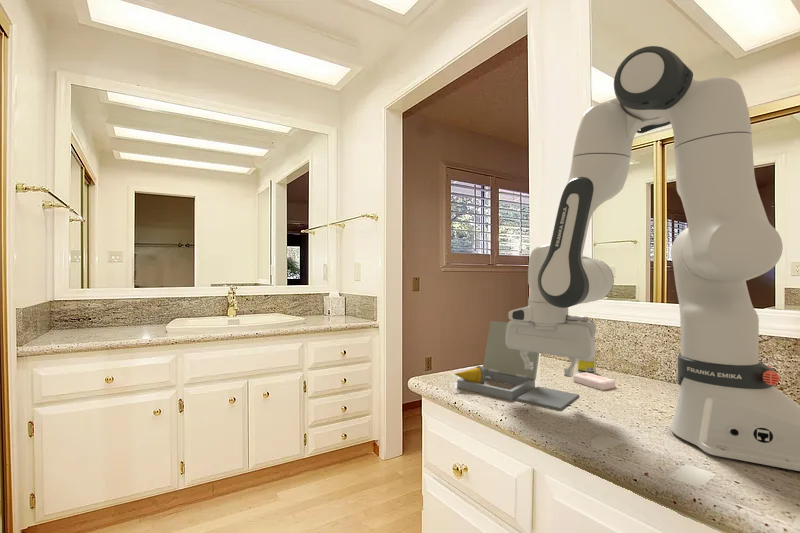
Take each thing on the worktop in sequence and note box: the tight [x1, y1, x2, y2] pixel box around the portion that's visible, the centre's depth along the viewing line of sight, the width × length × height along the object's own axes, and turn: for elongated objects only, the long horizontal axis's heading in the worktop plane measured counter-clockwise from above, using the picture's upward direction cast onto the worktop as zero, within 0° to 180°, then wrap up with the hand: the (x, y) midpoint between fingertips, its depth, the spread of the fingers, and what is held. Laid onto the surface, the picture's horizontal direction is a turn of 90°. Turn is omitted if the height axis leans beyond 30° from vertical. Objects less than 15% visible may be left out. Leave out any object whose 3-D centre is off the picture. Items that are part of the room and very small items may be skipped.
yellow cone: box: [454, 365, 491, 384], centre depth 104 cm, size 5×5×10 cm
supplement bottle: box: [577, 354, 597, 375], centre depth 118 cm, size 5×5×8 cm
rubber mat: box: [516, 386, 580, 411], centre depth 95 cm, size 10×12×1 cm
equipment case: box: [456, 320, 540, 401], centre depth 107 cm, size 15×20×15 cm
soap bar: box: [572, 372, 616, 391], centre depth 106 cm, size 5×9×2 cm, turn 26°
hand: (548, 372), depth 95 cm, fingers open, 8 cm apart
